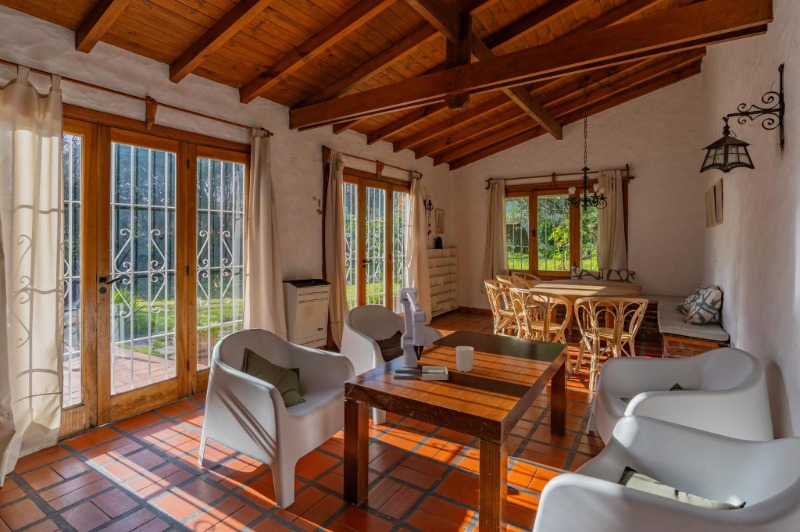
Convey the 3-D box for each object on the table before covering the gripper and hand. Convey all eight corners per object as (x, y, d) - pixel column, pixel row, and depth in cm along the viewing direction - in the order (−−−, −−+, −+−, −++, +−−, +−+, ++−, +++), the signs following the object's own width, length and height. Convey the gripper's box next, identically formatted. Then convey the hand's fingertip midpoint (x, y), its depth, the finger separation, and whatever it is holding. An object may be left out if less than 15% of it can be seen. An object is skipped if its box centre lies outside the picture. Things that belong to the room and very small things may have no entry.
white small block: (428, 375, 225) (428, 369, 225) (435, 375, 225) (436, 369, 225) (428, 377, 221) (428, 372, 221) (436, 377, 221) (436, 372, 221)
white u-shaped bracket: (422, 371, 230) (422, 366, 230) (446, 372, 230) (446, 366, 230) (422, 380, 216) (422, 374, 216) (448, 380, 216) (448, 375, 216)
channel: (395, 371, 230) (395, 369, 230) (419, 372, 229) (419, 370, 229) (393, 379, 218) (393, 376, 218) (419, 379, 218) (419, 377, 217)
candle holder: (452, 368, 237) (452, 346, 236) (467, 366, 240) (468, 345, 240) (460, 373, 228) (461, 351, 227) (476, 371, 231) (477, 349, 231)
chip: (436, 375, 225) (436, 369, 225) (443, 375, 224) (443, 370, 224) (436, 377, 221) (436, 372, 221) (444, 378, 221) (444, 372, 220)
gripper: (404, 335, 219) (404, 362, 219) (432, 336, 218) (432, 362, 219) (405, 332, 226) (404, 358, 226) (432, 333, 225) (432, 358, 226)
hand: (418, 360), depth 223 cm, fingers closed
